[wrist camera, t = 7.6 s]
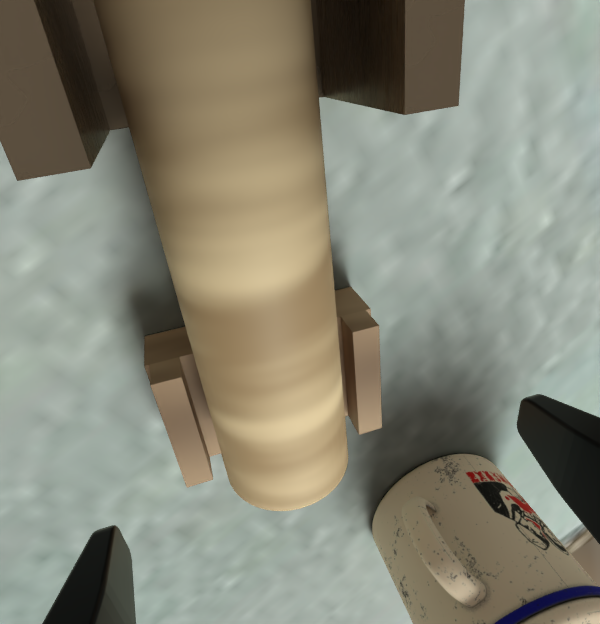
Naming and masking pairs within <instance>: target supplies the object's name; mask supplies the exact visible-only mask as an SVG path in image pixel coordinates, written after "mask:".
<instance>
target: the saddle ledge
mask: <svg viewBox="0 0 600 624" xmlns="http://www.w3.org/2000/svg"><path fill="white" fill-rule="evenodd" d="M335 302H336V314H337V326H338V338H339V350H340V363H341V375H342V387H343V399H344V411H345V416H349V417H350V419H351V421H352V423H353V425H354V426H355V428H356V430H357V432H358V433H359V435H360V434H363V433H367V432H370V431H373V430H376V429H380V428H382V414H381V378H380V343H379V325H378V324H377V323H376V322H375V320H374V319H373V318H372V317H371V310H370V308H369V307H368V305H367V304H366V303H365V302H364V301H363V300H362V299H361V298H360V296H359V295H358V294H357V293H356V292H355V291H354V290H353V289H352V287H347V288H343V289H339V290H335ZM144 366H145V369H146V372H147V375H148V378H149V380H150V386H151V388H152V391H153V394H154V397H155V400H156V402H157V405H158V408H159V411H160V414H161V416H162V419H163V422H164V425H165V427H166V430H167V433H168V436H169V439H170V441H171V444H172V447H173V450H174V453H175V455H176V458H177V461H178V464H179V467H180V469H181V472H182V475H183V478H184V481H185V483H186V486H187V487H190V486H193V485H197V484H200V483H203V482H207V481H210V480H213V475H212V469H211V463H210V456H213V455H217V454H220V453H221V450H220V447H219V443H218V440H217V436H216V433H215V429H214V425H213V422H212V418H211V415H210V411H209V408H208V404H207V401H206V397H205V394H204V390H203V387H202V383H201V380H200V376H199V372H198V369H197V365H196V362H195V358H194V355H193V351H192V348H191V344H190V341H189V337H188V334H187V330H186V327H181V328H177V329H173V330H169V331H165V332H160V333H156V334H152V335H148V336H145V348H144Z"/></svg>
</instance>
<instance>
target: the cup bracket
mask: <svg viewBox="0 0 600 624" xmlns="http://www.w3.org/2000/svg"><path fill="white" fill-rule="evenodd" d="M464 4H465V0H311V10H312V22H313V34H314V47H315V59H316V71H317V83H318V95H319V97H327V98H331V99H336V100H340V101H345V102H349V103H354V104H358V105H363V106H367V107H372V108H376V109H381V110H385V111H390V112H394V113H399V114H403V115H407V114H413V113H419V112H424V111H430V110H436V109H442V108H448V107H454V106H458V105H459V88H460V71H461V55H462V38H463V21H464ZM127 127H129V125H128V122H127V118H126V115H125V111H124V107H123V104H122V100H121V97H120V93H119V90H118V86H117V83H116V79H115V76H114V72H113V69H112V65H111V62H110V58H109V55H108V51H107V47H106V44H105V40H104V37H103V33H102V30H101V26H100V23H99V19H98V16H97V12H96V9H95V5H94V2H93V0H0V141H1V144H2V146H3V148H4V151H5V153H6V155H7V158H8V160H9V162H10V165H11V167H12V169H13V172H14V174H15V177H16V179H17V181H19V180H25V179H31V178H37V177H43V176H48V175H54V174H60V173H66V172H72V171H78V170H84V169H90V168H91V167H92V165H93V163H94V161H95V159H96V157H97V155H98V153H99V151H100V149H101V147H102V145H103V144H104V142H105V140H106V138H107V136H108V134H109V132H110V130H115V129H121V128H127Z"/></svg>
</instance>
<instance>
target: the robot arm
mask: <svg viewBox="0 0 600 624" xmlns="http://www.w3.org/2000/svg"><path fill="white" fill-rule="evenodd" d="M517 429H518V432H519V434H520V436H521V437H522V439H523V440H524V442H525V443H526V445H527V446H528V448H529V449H530V451H531V452H532V454H533V456H534V457H535V459H536V460H537V462H538V463H539V465H540V466H541V468H542V469H543V471H544V472H545V474H546V475H547V477H548V478H549V480H550V481H551V483H552V484H553V486H554V487H555V488H556V490H557V491H558V493H559V494H560V495H561V497H562V498H563V499H564V501H565V502H566V503H567V504H568V506H569V507H570V508H571V509H572V511H573V512H574V513H575V514H576V516H577V517H578V518H579V519H580V520H581V522H582V523H583V524H584V525H585V527H586V528H587V529H588V530H589V532H590V533H591V534H592V535H593V537H594V538H595V539H596V540H597V542H598V543H599V544H600V418H599V417H597V416H594V415H592V414H589V413H587V412H584V411H582V410H579V409H577V408H574V407H572V406H569V405H567V404H564V403H562V402H559V401H557V400H554V399H552V398H549V397H547V396H544V395H540V394H537V395H533V396H530V397H526V398H524V399H523V400H522V401H521V403H520V409H519V414H518V420H517ZM42 624H136V617H135V602H134V587H133V571H132V559H131V553H130V550H129V548H128V546H127V544H126V542H125V540H124V538H123V536H122V534H121V532H120V530H119V528H118V527H117V526H115V525H112V526H109V527H106V528H103V529H99V530H97V531H95V532H94V533H93V534H92V535H91V537H90V539H89V540H88V542H87V544H86V546H85V548H84V549H83V551H82V553H81V555H80V557H79V558H78V560H77V562H76V564H75V566H74V567H73V569H72V571H71V573H70V575H69V576H68V578H67V580H66V582H65V584H64V586H63V587H62V589H61V591H60V593H59V595H58V596H57V598H56V600H55V602H54V604H53V605H52V607H51V609H50V611H49V613H48V614H47V616H46V618H45V620H44V622H43V623H42Z"/></svg>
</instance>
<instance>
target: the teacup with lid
mask: <svg viewBox="0 0 600 624" xmlns="http://www.w3.org/2000/svg"><path fill="white" fill-rule="evenodd" d="M372 532H373V538H374V541H375V543H376V545H377V547H378V549H379V552H380V554H381V556H382V558H383V560H384V562H385V564H386V566H387V569H388V571H389V573H390V575H391V577H392V579H393V581H394V583H395V586H396V588H397V590H398V592H399V594H400V596H401V598H402V601H403V603H404V605H405V607H406V609H407V611H408V613H409V615H410V618H411V620H412V622H413V624H600V587H598V585H597V584H596V583H595V582H594V581H593V580H592V578H591V577H590V576H589V575H588V574H587V573H586V572H585V570H584V569H583V568H582V567H581V566H580V564H579V563H578V562H577V561H576V560H575V559H574V557H573V556H572V555H571V554H570V553H569V551H568V550H567V549H566V548H565V547H564V546H563V544H562V543H561V542H560V541H559V540H558V539H557V537H556V536H555V535H554V534H553V533H552V532H551V530H550V529H549V528H548V527H547V526H546V524H545V523H544V522H543V521H542V520H541V519H540V517H539V516H538V515H537V514H536V513H535V512H534V510H533V509H532V508H531V507H530V506H529V505H528V503H527V502H526V501H525V500H524V499H523V497H522V496H521V495H520V494H519V493H518V492H517V490H516V489H515V488H514V487H513V486H512V485H511V483H510V482H509V481H508V480H507V479H506V478H505V476H504V475H503V474H502V473H501V472H500V470H499V469H498V468H497V467H496V466H495V465H494V464H493V463H492V462H491V461H489V460H488V459H485V458H483V457H481V456H478V455H473V454H453V455H448V456H444V457H440V458H437V459H434V460H432V461H429V462H427V463H425V464H423V465H421V466H419V467H417V468H416V469H414V470H413V471H411V472H409V473H408V474H407V475H405V476H404V477H403V478H402V479H400V480H399V481H398V482H397V483H396V484H395V485H394V486H393V487H392V488H391V489H390V490H389V491H388V492H387V494H386V495H385V496H384V498H383V499H382V500H381V502H380V504H379V506H378V508H377V510H376V512H375V515H374V519H373V524H372Z"/></svg>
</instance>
